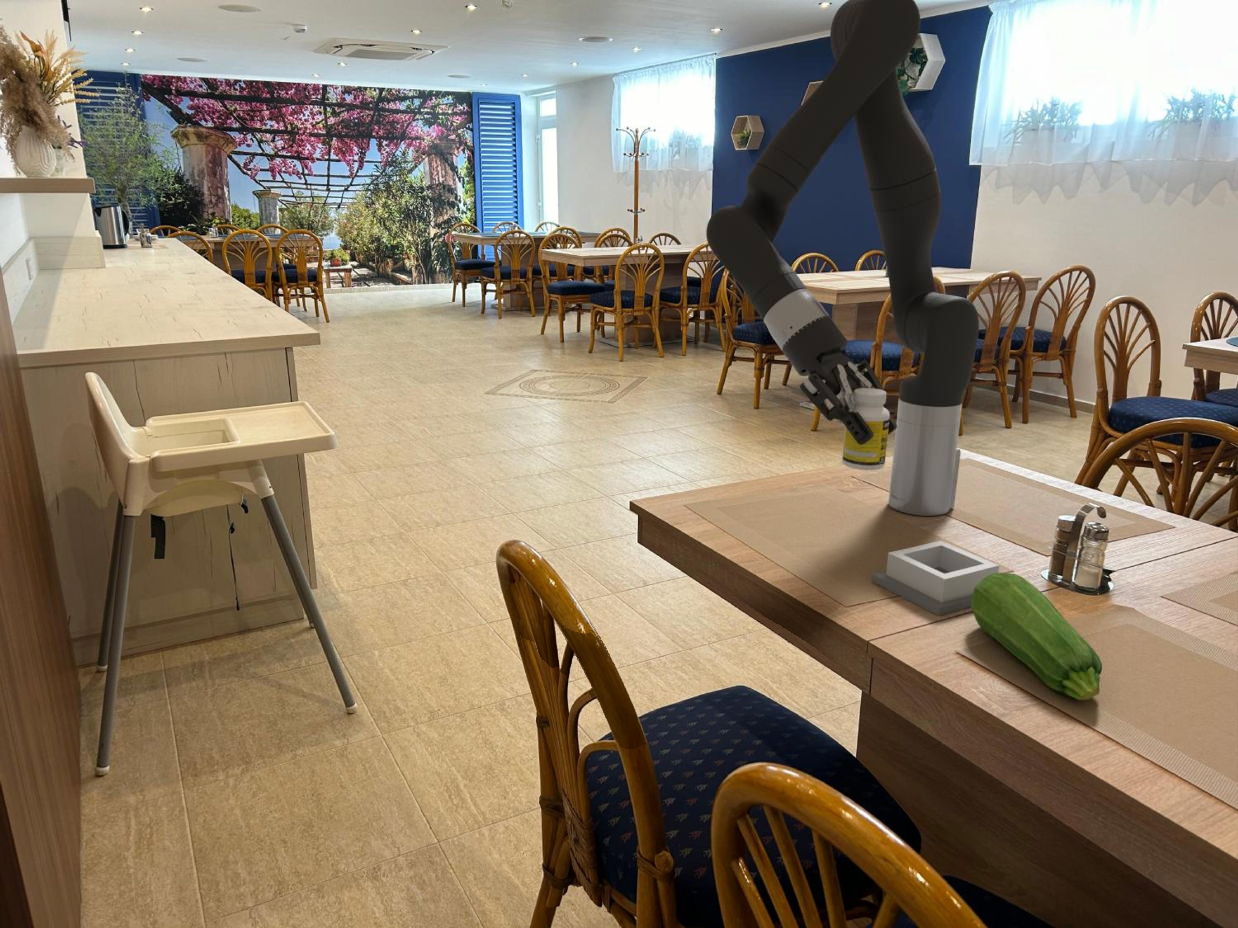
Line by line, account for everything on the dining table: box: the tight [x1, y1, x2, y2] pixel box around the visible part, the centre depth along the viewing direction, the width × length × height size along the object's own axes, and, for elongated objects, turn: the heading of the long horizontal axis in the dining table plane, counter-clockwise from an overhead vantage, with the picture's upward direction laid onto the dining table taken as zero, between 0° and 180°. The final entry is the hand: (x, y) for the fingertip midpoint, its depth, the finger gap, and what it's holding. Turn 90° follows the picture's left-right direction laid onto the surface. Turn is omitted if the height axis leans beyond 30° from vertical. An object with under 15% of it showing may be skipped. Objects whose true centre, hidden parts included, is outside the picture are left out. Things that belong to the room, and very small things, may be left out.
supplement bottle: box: [841, 387, 891, 471], centre depth 115 cm, size 5×5×10 cm
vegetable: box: [970, 572, 1103, 701], centre depth 94 cm, size 7×7×20 cm
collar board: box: [871, 540, 1000, 616], centre depth 112 cm, size 12×11×4 cm
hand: (879, 436), depth 114 cm, fingers closed on supplement bottle, 5 cm apart
